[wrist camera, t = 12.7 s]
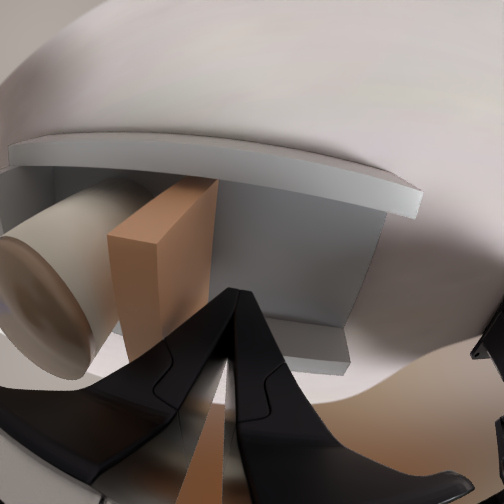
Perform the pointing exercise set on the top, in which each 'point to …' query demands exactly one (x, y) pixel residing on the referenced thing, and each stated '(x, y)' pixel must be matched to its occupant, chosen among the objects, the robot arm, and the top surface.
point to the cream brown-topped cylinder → (65, 277)
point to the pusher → (163, 262)
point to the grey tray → (241, 220)
